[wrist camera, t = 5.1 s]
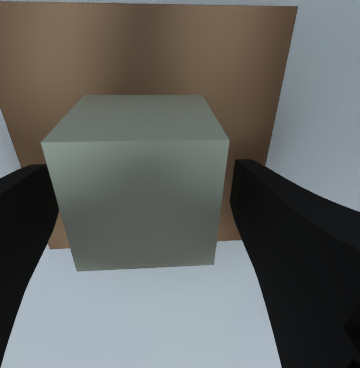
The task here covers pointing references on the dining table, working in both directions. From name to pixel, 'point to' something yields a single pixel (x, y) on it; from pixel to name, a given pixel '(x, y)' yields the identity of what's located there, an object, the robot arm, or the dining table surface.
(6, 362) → the dining table surface
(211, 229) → the block
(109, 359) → the dining table surface
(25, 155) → the base
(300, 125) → the dining table surface
